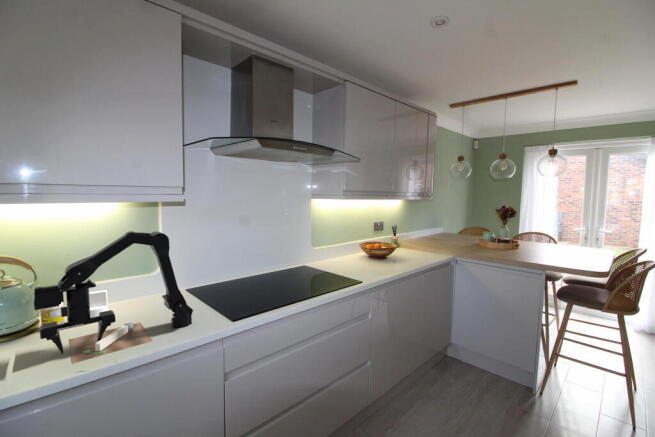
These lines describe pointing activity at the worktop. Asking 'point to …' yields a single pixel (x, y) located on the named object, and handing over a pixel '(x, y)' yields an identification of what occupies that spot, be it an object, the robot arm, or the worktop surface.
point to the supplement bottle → (52, 315)
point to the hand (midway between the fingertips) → (81, 348)
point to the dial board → (85, 345)
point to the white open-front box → (98, 302)
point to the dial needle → (113, 336)
